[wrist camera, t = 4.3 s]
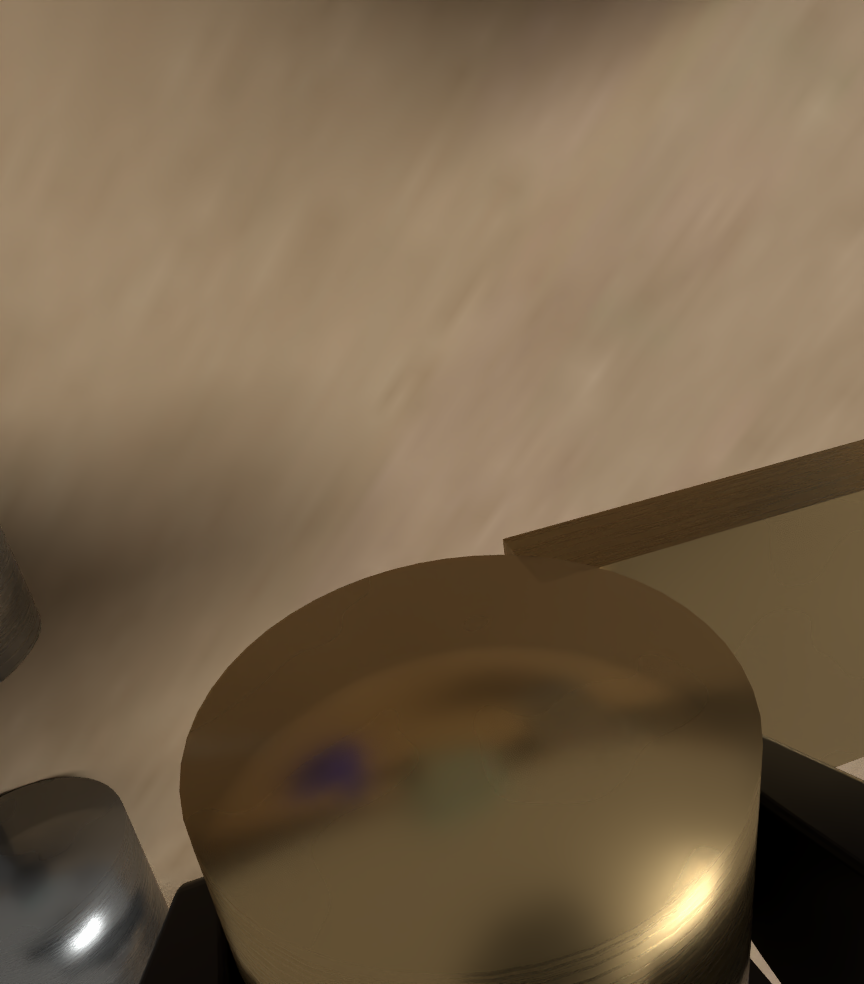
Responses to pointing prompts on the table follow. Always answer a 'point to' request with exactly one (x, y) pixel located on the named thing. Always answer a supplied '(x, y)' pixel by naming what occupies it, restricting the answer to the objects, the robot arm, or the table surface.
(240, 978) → the robot arm
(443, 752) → the brass hinge knuckle
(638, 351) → the table surface
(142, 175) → the table surface
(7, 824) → the fixed leaf
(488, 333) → the table surface
